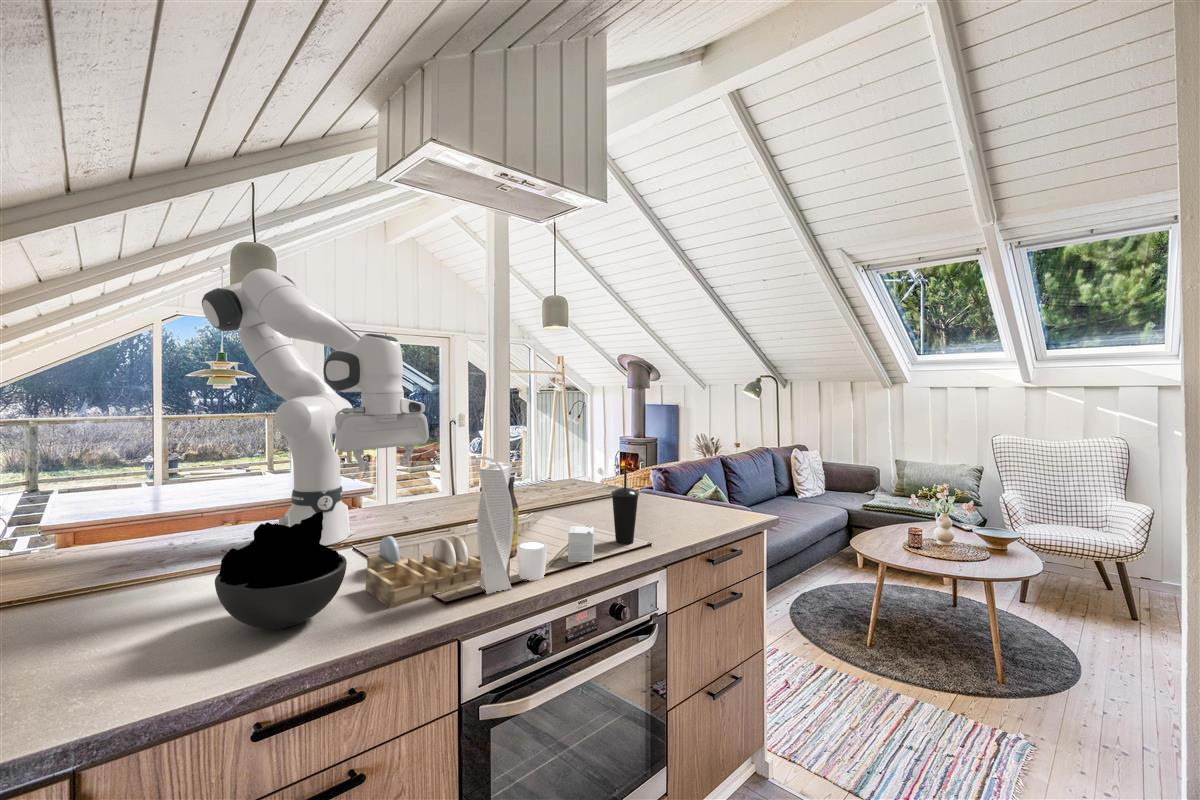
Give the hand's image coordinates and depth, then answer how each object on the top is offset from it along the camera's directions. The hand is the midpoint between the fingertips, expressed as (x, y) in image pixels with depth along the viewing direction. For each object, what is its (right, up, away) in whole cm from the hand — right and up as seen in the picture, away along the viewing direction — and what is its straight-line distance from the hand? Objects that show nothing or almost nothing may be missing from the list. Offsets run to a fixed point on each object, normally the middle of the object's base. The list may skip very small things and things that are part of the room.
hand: (385, 467), depth 119 cm
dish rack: (+11, -24, -7) cm, 27 cm away
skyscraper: (+26, -25, -7) cm, 37 cm away
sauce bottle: (+25, -24, +14) cm, 37 cm away
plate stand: (+1, -24, +1) cm, 24 cm away
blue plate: (+1, -24, +1) cm, 24 cm away
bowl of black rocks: (-8, -25, -25) cm, 36 cm away
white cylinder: (+33, -24, 0) cm, 41 cm away
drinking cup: (+55, -24, +26) cm, 65 cm away
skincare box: (+44, -24, +12) cm, 51 cm away
